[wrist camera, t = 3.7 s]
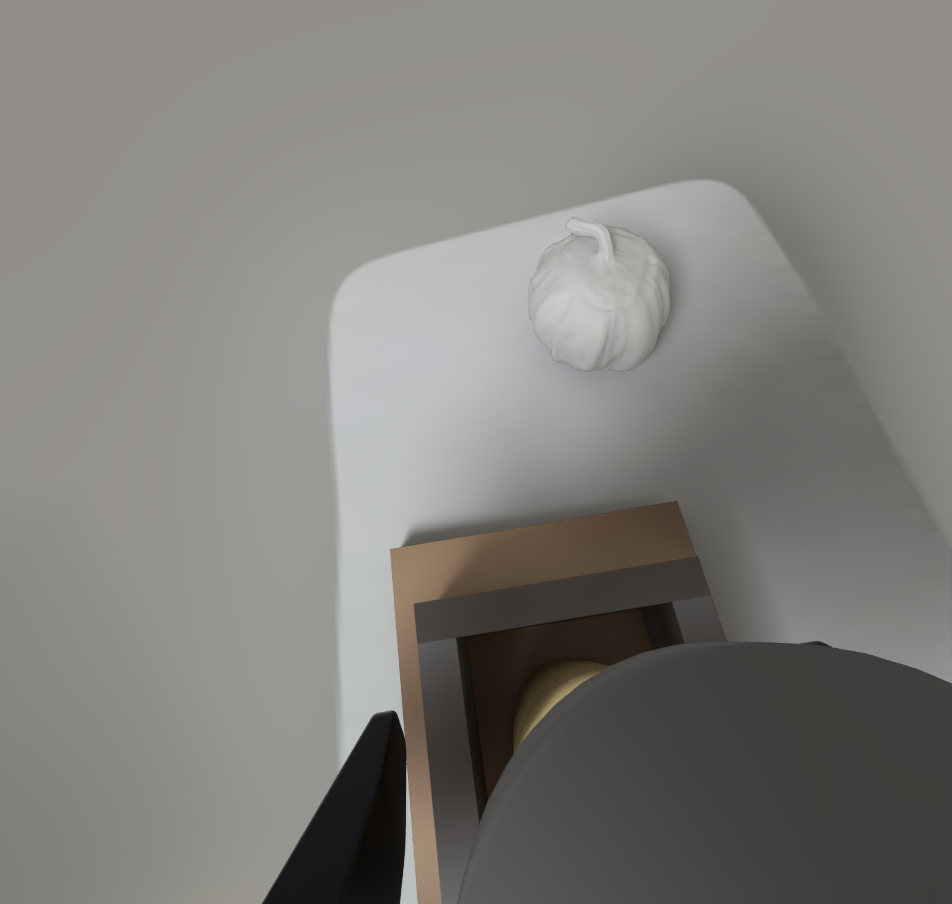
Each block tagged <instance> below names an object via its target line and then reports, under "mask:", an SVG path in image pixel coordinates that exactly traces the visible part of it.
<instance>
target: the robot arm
mask: <svg viewBox="0 0 952 904" xmlns="http://www.w3.org/2000/svg"><path fill="white" fill-rule="evenodd" d="M801 644H811V645H821V646H826V647H831V646H829V645H827V644H825V643H823V642H820V641H813V642H807V643H801ZM832 648H833V647H832ZM405 840H406V742H405V737H404V734H403V731H402V728H401V725H400V721H399V718H398V715H397V713H396V712H395V711H386V712H380V713H376V714H375V715H373V716H372V718H371V719H370V721H369V723H368V724H367V726H366V728H365V730H364V731H363V733H362V735H361V736H360V738H359V740H358V741H357V743H356V745H355V746H354V748H353V750H352V752H351V753H350V755H349V757H348V758H347V760H346V762H345V763H344V765H343V767H342V769H341V770H340V772H339V774H338V775H337V777H336V779H335V780H334V782H333V784H332V785H331V787H330V789H329V791H328V793H327V794H326V796H325V797H324V799H323V801H322V802H321V804H320V806H319V808H318V809H317V811H316V813H315V815H314V816H313V818H312V819H311V821H310V823H309V825H308V826H307V828H306V830H305V831H304V833H303V835H302V836H301V838H300V840H299V842H298V843H297V845H296V847H295V848H294V850H293V852H292V853H291V855H290V857H289V858H288V860H287V862H286V864H285V865H284V867H283V869H282V870H281V872H280V874H279V875H278V877H277V879H276V881H275V882H274V884H273V886H272V887H271V889H270V891H269V892H268V894H267V896H266V897H265V899H264V901H263V902H262V904H400V898H401V888H402V878H403V868H404V857H405Z"/></svg>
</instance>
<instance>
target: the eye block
mask: <svg viewBox="0 0 952 904" xmlns="http://www.w3.org/2000/svg"><path fill="white" fill-rule="evenodd" d="M390 553H391V566H392V579H393V592H394V604H395V617H396V630H397V643H398V655H399V668H400V681H401V694H402V706H403V719H404V732H405V742H406V757H407V770H408V783H409V796H410V808H411V821H412V834H413V847H414V860H415V872H416V885H417V898H418V904H457V902H458V897H459V892H460V888H461V884H462V880H463V876H464V872H465V868H466V865H467V861H468V857H469V853H470V849H471V845H472V842H473V839H474V836H475V834H476V831H477V829H478V826H479V823H480V821H481V818H482V815H483V813H484V810H485V807H486V805H487V802H488V800H489V798H490V796H491V794H492V792H493V790H494V788H495V787H496V785H497V783H498V781H499V779H500V777H501V775H502V773H503V771H504V769H505V767H506V765H507V764H508V762H509V761H510V759H511V758H512V757H513V710H514V705H515V701H516V697H517V695H518V692H519V690H520V688H521V686H522V684H523V683H524V681H525V680H526V678H527V677H528V676H529V675H530V674H531V673H532V672H533V671H534V670H535V669H536V668H538V667H539V666H540V665H542V664H544V663H546V662H548V661H550V660H553V659H557V658H562V657H577V658H582V659H586V660H590V661H593V662H597V663H601V664H604V665H608V666H611V665H613V664H616V663H618V662H621V661H623V660H626V659H628V658H631V657H633V656H636V655H638V654H640V653H643V652H648V651H652V650H656V649H660V648H664V647H668V646H672V645H679V644H689V643H700V642H727V641H726V638H725V635H724V632H723V630H722V627H721V624H720V621H719V618H718V615H717V612H716V609H715V606H714V603H713V600H712V597H711V594H710V591H709V588H708V586H707V583H706V580H705V577H704V574H703V571H702V568H701V565H700V562H699V559H698V556H695V553H694V550H693V547H692V544H691V541H690V538H689V535H688V532H687V529H686V526H685V523H684V520H683V518H682V515H681V512H680V509H679V506H678V503H677V501H674V502H668V503H662V504H656V505H650V506H644V507H638V508H632V509H626V510H620V511H615V512H609V513H603V514H597V515H591V516H585V517H579V518H573V519H567V520H561V521H555V522H549V523H543V524H537V525H531V526H525V527H519V528H513V529H507V530H501V531H495V532H489V533H483V534H477V535H471V536H465V537H459V538H453V539H447V540H442V541H436V542H430V543H424V544H418V545H412V546H406V547H400V548H394V549H390Z"/></svg>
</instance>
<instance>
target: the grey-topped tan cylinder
mask: <svg viewBox="0 0 952 904" xmlns="http://www.w3.org/2000/svg"><path fill="white" fill-rule="evenodd" d="M457 904H952V683H949V682H947V681H944V680H942V679H940V678H937V677H935V676H933V675H930V674H928V673H925V672H923V671H921V670H918V669H916V668H912V667H909V666H906V665H902V664H899V663H896V662H893V661H889V660H886V659H883V658H879V657H876V656H873V655H869V654H866V653H860V652H855V651H849V650H843V649H838V648H832V647H826V646H821V645H811V644H789V643H763V642H700V643H689V644H679V645H672V646H668V647H664V648H660V649H656V650H652V651H648V652H643V653H640V654H638V655H636V656H633V657H631V658H628V659H626V660H623V661H621V662H618V663H616V664H613V665H611V666H608V665H604V664H601V663H597V662H593V661H590V660H586V659H582V658H577V657H562V658H557V659H553V660H550V661H548V662H546V663H544V664H542V665H540V666H539V667H538V668H536V669H535V670H534V671H533V672H532V673H531V674H530V675H529V676H528V677H527V678H526V680H525V681H524V683H523V684H522V686H521V688H520V690H519V692H518V695H517V697H516V701H515V705H514V710H513V757H512V758H511V759H510V761H509V762H508V764H507V765H506V767H505V769H504V771H503V773H502V775H501V777H500V779H499V781H498V783H497V785H496V787H495V788H494V790H493V792H492V794H491V796H490V798H489V800H488V802H487V805H486V807H485V810H484V813H483V815H482V818H481V821H480V823H479V826H478V829H477V831H476V834H475V836H474V839H473V842H472V845H471V849H470V853H469V857H468V861H467V865H466V868H465V872H464V876H463V880H462V884H461V888H460V892H459V897H458V902H457Z"/></svg>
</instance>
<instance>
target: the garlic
mask: <svg viewBox="0 0 952 904" xmlns="http://www.w3.org/2000/svg"><path fill="white" fill-rule="evenodd" d="M565 229H566V231H568V232H570V233H572V234H571V236H569V237H567V238H565V239H564V240H562V241H560V242H557V243H555V244H553V245H551V246H549V247H548V248H547V249H546V250H545V251H544V253H543V254H542V256H541V258H540V260H539V263H538V266H537V270H536V273H535V274H534V276H533V277H532V279H531V281H530V284H529V288H528V303H529V317H530V320H531V322H532V324H533V328H534V331H535V334H536V336H537V338H538V339H539V340H540V341H541V342H542V343H543V344H544V345H545V346H546V347H547V348H548V349H549V350H550V351H551V355H552V359H553V360H554V361H555V362H558V363H567V364H569V365H571V366H572V367H574V368H576V369H578V370H580V371H593V370H597V369H602V368H607V369H610V370H614V371H628V370H631V369H633V368H635V367H636V366H637V365H639V364H640V363H641V362H642V361H643V360H644V359H645V358H646V357H647V356H648V355H649V354H650V353H651V352H652V351H653V349H654V347H655V345H656V342H657V338H658V336H659V333H660V331H661V329H662V328H663V326H664V325H665V323H666V321H667V319H668V316H669V312H670V290H669V287H670V281H671V280H670V274H669V270H668V267H667V264H666V262H665V260H664V259H663V257H662V256H661V255H660V254H659V253H658V252H657V251H656V250H655V249H654V248H653V247H652V246H651V245H650V244H649V243H648V242H647V241H646V240H645V239H644V238H642V237H638V236H636V235H634V234H632V233H630V232H629V231H628V230H626V229H623V228H616V227H610V226H604V225H602V224H600V223H598V222H593V221H587V220H582V219H578V218H576V217H572V218H571V219H570V220H569V221H568V222H567V224H566V228H565Z"/></svg>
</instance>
